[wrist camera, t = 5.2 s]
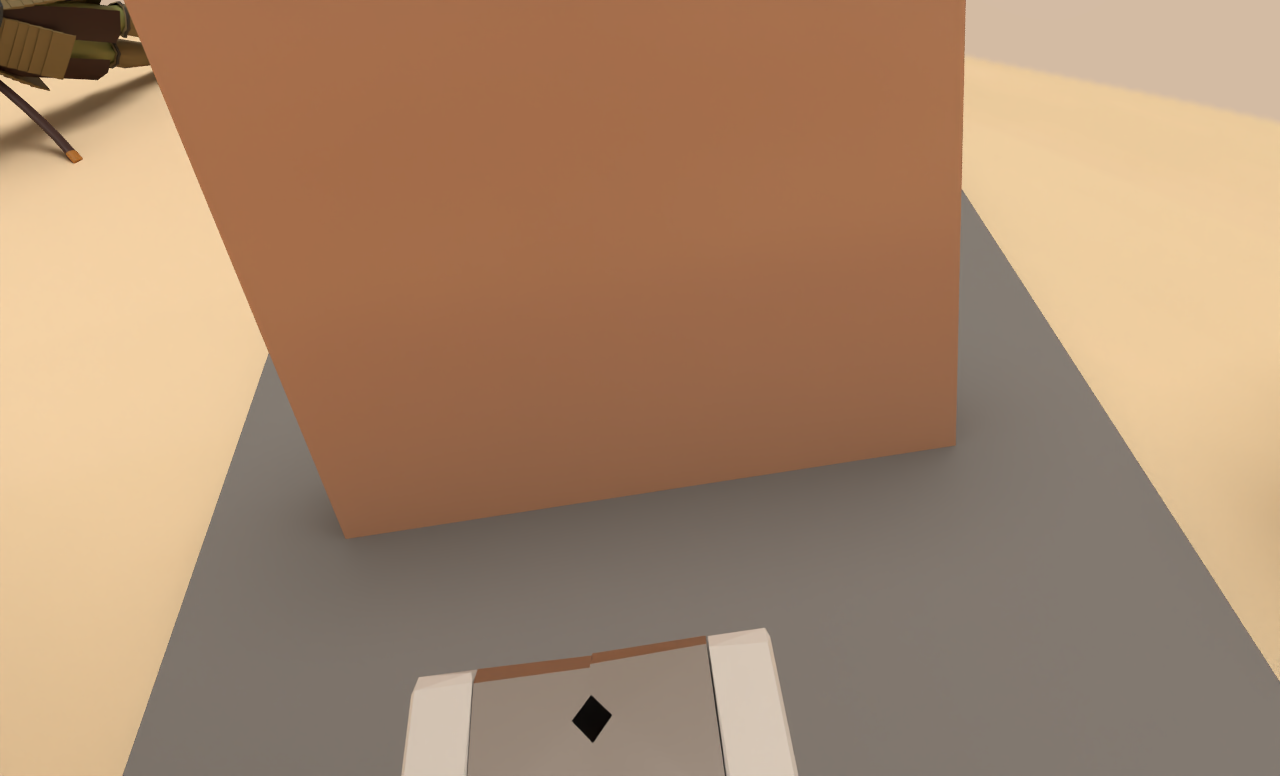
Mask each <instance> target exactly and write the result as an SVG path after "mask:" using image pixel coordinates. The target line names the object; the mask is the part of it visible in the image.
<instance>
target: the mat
mask: <svg viewBox="0 0 1280 776" xmlns="http://www.w3.org/2000/svg"><path fill="white" fill-rule="evenodd" d="M759 628H766V630H767V632H768V634H769V636H770V638H771V643H772V648H773V653H774V658H775V663H776V668H777V673H778V677H779V682H780V687H781V692H782V697H783V702H784V707H785V712H786V717H787V722H788V727H789V732H790V737H791V741H792V746H793V751H794V756H795V761H796V766H797V771H798V776H1280V681H1279V680H1278V678H1277V677H1276V675H1275V674H1274V672H1273V671H1272V669H1271V668H1270V666H1269V664H1268V663H1267V661H1266V660H1265V658H1264V657H1263V655H1262V654H1261V652H1260V650H1259V649H1258V647H1257V646H1256V644H1255V643H1254V641H1253V640H1252V638H1251V637H1250V635H1249V633H1248V632H1247V630H1246V629H1245V627H1244V626H1243V624H1242V623H1241V621H1240V619H1239V618H1238V616H1237V615H1236V613H1235V612H1234V610H1233V609H1232V607H1231V606H1230V604H1229V602H1228V601H1227V599H1226V598H1225V596H1224V595H1223V593H1222V592H1221V590H1220V589H1219V587H1218V585H1217V584H1216V582H1215V581H1214V579H1213V578H1212V576H1211V575H1210V573H1209V571H1208V570H1207V568H1206V567H1205V565H1204V564H1203V562H1202V561H1201V559H1200V558H1199V556H1198V554H1197V553H1196V551H1195V550H1194V548H1193V547H1192V545H1191V544H1190V542H1189V540H1188V539H1187V537H1186V536H1185V534H1184V533H1183V531H1182V530H1181V528H1180V527H1179V525H1178V523H1177V522H1176V520H1175V519H1174V517H1173V516H1172V514H1171V513H1170V511H1169V509H1168V508H1167V506H1166V505H1165V503H1164V502H1163V500H1162V499H1161V497H1160V496H1159V494H1158V492H1157V491H1156V489H1155V488H1154V486H1153V485H1152V483H1151V482H1150V480H1149V478H1148V477H1147V475H1146V474H1145V472H1144V471H1143V469H1142V468H1141V466H1140V465H1139V463H1138V461H1137V460H1136V458H1135V457H1134V455H1133V454H1132V452H1131V451H1130V449H1129V448H1128V446H1127V444H1126V443H1125V441H1124V440H1123V438H1122V437H1121V435H1120V434H1119V432H1118V430H1117V429H1116V427H1115V426H1114V424H1113V423H1112V421H1111V420H1110V418H1109V417H1108V415H1107V413H1106V412H1105V410H1104V409H1103V407H1102V406H1101V404H1100V403H1099V401H1098V399H1097V398H1096V396H1095V395H1094V393H1093V392H1092V390H1091V389H1090V387H1089V386H1088V384H1087V382H1086V381H1085V379H1084V378H1083V376H1082V375H1081V373H1080V372H1079V370H1078V368H1077V367H1076V365H1075V364H1074V362H1073V361H1072V359H1071V358H1070V356H1069V355H1068V353H1067V351H1066V350H1065V348H1064V347H1063V345H1062V344H1061V342H1060V341H1059V339H1058V337H1057V336H1056V334H1055V333H1054V331H1053V330H1052V328H1051V327H1050V325H1049V324H1048V322H1047V320H1046V319H1045V317H1044V316H1043V314H1042V313H1041V311H1040V310H1039V308H1038V306H1037V305H1036V303H1035V302H1034V300H1033V299H1032V297H1031V296H1030V294H1029V293H1028V291H1027V289H1026V288H1025V286H1024V285H1023V283H1022V282H1021V280H1020V279H1019V277H1018V276H1017V274H1016V272H1015V271H1014V269H1013V268H1012V266H1011V265H1010V263H1009V262H1008V260H1007V258H1006V257H1005V255H1004V254H1003V252H1002V251H1001V249H1000V248H999V246H998V245H997V243H996V241H995V240H994V238H993V237H992V235H991V234H990V232H989V231H988V229H987V227H986V226H985V224H984V223H983V221H982V220H981V218H980V217H979V215H978V214H977V212H976V210H975V209H974V207H973V206H972V204H971V203H970V201H969V200H968V198H967V196H966V195H965V193H964V192H963V190H962V189H961V230H960V275H959V320H958V365H957V410H956V445H955V446H949V447H942V448H936V449H929V450H923V451H916V452H910V453H903V454H897V455H890V456H884V457H877V458H871V459H864V460H857V461H851V462H844V463H838V464H831V465H825V466H818V467H812V468H805V469H799V470H792V471H786V472H779V473H773V474H766V475H760V476H753V477H747V478H740V479H734V480H727V481H721V482H714V483H708V484H701V485H695V486H688V487H682V488H675V489H669V490H662V491H656V492H649V493H643V494H636V495H630V496H623V497H617V498H610V499H603V500H597V501H590V502H584V503H577V504H571V505H564V506H558V507H551V508H545V509H538V510H532V511H525V512H519V513H512V514H506V515H499V516H493V517H486V518H480V519H473V520H467V521H460V522H454V523H447V524H441V525H434V526H428V527H421V528H415V529H408V530H402V531H395V532H389V533H382V534H376V535H369V536H363V537H356V538H349V539H345V536H344V534H343V531H342V529H341V527H340V524H339V522H338V519H337V517H336V514H335V512H334V510H333V507H332V505H331V502H330V500H329V497H328V495H327V493H326V490H325V488H324V485H323V483H322V480H321V478H320V476H319V473H318V471H317V468H316V466H315V463H314V461H313V459H312V456H311V454H310V451H309V449H308V446H307V444H306V442H305V439H304V437H303V434H302V432H301V429H300V427H299V425H298V422H297V420H296V417H295V415H294V412H293V410H292V408H291V405H290V403H289V400H288V398H287V395H286V393H285V391H284V388H283V386H282V383H281V381H280V378H279V376H278V374H277V371H276V369H275V366H274V364H273V361H272V359H271V357H270V354H268V357H267V360H266V363H265V366H264V369H263V371H262V374H261V377H260V380H259V383H258V386H257V389H256V392H255V395H254V397H253V400H252V403H251V406H250V409H249V412H248V415H247V418H246V421H245V423H244V426H243V429H242V432H241V435H240V438H239V441H238V444H237V447H236V449H235V452H234V455H233V458H232V461H231V464H230V467H229V470H228V473H227V475H226V478H225V481H224V484H223V487H222V490H221V493H220V496H219V499H218V501H217V504H216V507H215V510H214V513H213V516H212V519H211V522H210V525H209V527H208V530H207V533H206V536H205V539H204V542H203V545H202V548H201V551H200V553H199V556H198V559H197V562H196V565H195V568H194V571H193V574H192V577H191V579H190V582H189V585H188V588H187V591H186V594H185V597H184V600H183V603H182V605H181V608H180V611H179V614H178V617H177V620H176V623H175V626H174V629H173V632H172V634H171V637H170V640H169V643H168V646H167V649H166V652H165V655H164V658H163V660H162V663H161V666H160V669H159V672H158V675H157V678H156V681H155V684H154V686H153V689H152V692H151V695H150V698H149V701H148V704H147V707H146V710H145V712H144V715H143V718H142V721H141V724H140V727H139V730H138V733H137V736H136V738H135V741H134V744H133V747H132V750H131V753H130V756H129V759H128V762H127V764H126V767H125V770H124V773H123V776H401V774H402V766H403V758H404V749H405V741H406V733H407V725H408V717H409V709H410V700H411V694H412V692H413V690H414V687H415V685H416V683H417V680H418V678H419V677H424V676H432V675H440V674H447V673H455V672H463V671H470V670H477V669H483V668H491V667H499V666H508V665H516V664H524V663H533V662H541V661H550V660H558V659H566V658H575V657H583V656H591V655H592V653H598V652H605V651H611V650H617V649H623V648H630V647H636V646H642V645H649V644H655V643H661V642H668V641H674V640H680V639H687V638H693V637H699V636H705V635H706V641H707V646H708V636H712V635H719V634H725V633H732V632H739V631H746V630H753V629H759ZM708 652H709V649H708ZM709 658H710V656H709ZM710 664H711V662H710ZM711 670H712V669H711ZM712 676H713V675H712Z"/></svg>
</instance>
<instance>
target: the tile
mask: <svg viewBox="0 0 1280 776" xmlns="http://www.w3.org/2000/svg"><path fill="white" fill-rule="evenodd" d="M124 2H125V5H126V7H127V9H128V12H129V14H130V17H131V19H132V22H133V24H134V26H135V29H136V31H137V34H138V36H139V39H140V41H141V43H142V46H143V48H144V51H145V53H146V56H147V58H148V60H149V63H150V65H151V68H152V70H153V73H154V75H155V77H156V80H157V82H158V85H159V87H160V89H161V92H162V94H163V97H164V99H165V102H166V104H167V106H168V109H169V111H170V114H171V116H172V119H173V121H174V123H175V126H176V128H177V131H178V133H179V136H180V138H181V140H182V143H183V145H184V148H185V150H186V153H187V155H188V157H189V160H190V162H191V165H192V167H193V170H194V172H195V174H196V177H197V179H198V182H199V184H200V187H201V189H202V191H203V194H204V196H205V199H206V201H207V204H208V206H209V208H210V211H211V213H212V216H213V218H214V221H215V223H216V225H217V228H218V230H219V233H220V235H221V238H222V240H223V242H224V245H225V247H226V250H227V252H228V255H229V257H230V259H231V262H232V264H233V267H234V269H235V272H236V274H237V276H238V279H239V281H240V284H241V286H242V289H243V291H244V293H245V296H246V298H247V301H248V303H249V306H250V308H251V310H252V313H253V315H254V318H255V320H256V323H257V325H258V327H259V330H260V332H261V335H262V337H263V340H264V342H265V344H266V347H267V349H268V352H269V354H270V357H271V359H272V361H273V364H274V366H275V369H276V371H277V374H278V376H279V378H280V381H281V383H282V386H283V388H284V391H285V393H286V395H287V398H288V400H289V403H290V405H291V408H292V410H293V412H294V415H295V417H296V420H297V422H298V425H299V427H300V429H301V432H302V434H303V437H304V439H305V442H306V444H307V446H308V449H309V451H310V454H311V456H312V459H313V461H314V463H315V466H316V468H317V471H318V473H319V476H320V478H321V480H322V483H323V485H324V488H325V490H326V493H327V495H328V497H329V500H330V502H331V505H332V507H333V510H334V512H335V514H336V517H337V519H338V522H339V524H340V527H341V529H342V531H343V534H344V536H345V539H349V538H356V537H363V536H369V535H376V534H382V533H389V532H395V531H402V530H408V529H415V528H421V527H428V526H434V525H441V524H447V523H454V522H460V521H467V520H473V519H480V518H486V517H493V516H499V515H506V514H512V513H519V512H525V511H532V510H538V509H545V508H551V507H558V506H564V505H571V504H577V503H584V502H590V501H597V500H603V499H610V498H617V497H623V496H630V495H636V494H643V493H649V492H656V491H662V490H669V489H675V488H682V487H688V486H695V485H701V484H708V483H714V482H721V481H727V480H734V479H740V478H747V477H753V476H760V475H766V474H773V473H779V472H786V471H792V470H799V469H805V468H812V467H818V466H825V465H831V464H838V463H844V462H851V461H857V460H864V459H871V458H877V457H884V456H890V455H897V454H903V453H910V452H916V451H923V450H929V449H936V448H942V447H949V446H955V445H956V410H957V365H958V320H959V275H960V230H961V185H962V140H963V96H964V50H965V47H964V46H965V6H966V0H124Z"/></svg>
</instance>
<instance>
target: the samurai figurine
mask: <svg viewBox="0 0 1280 776" xmlns="http://www.w3.org/2000/svg"><path fill="white" fill-rule="evenodd" d="M100 2H101V0H0V75H3V76H4V77H7V78H11V79H12V80H15V81H19V82H20V83H23V84H27V85H30V86H31V87H35V88H40V89H44V90H48V91H50V89H49V88H48V87H47V86H46V85H45V84H44V83H43V81H42V80H41V79H40V78H39V77H45V78H57V79H62V80H63V78H68V79H88V80H98V79H100V78H101V77H103V76H104V75H105V74H107V73H108V70H109V68H114V67H116V66H117V67H122V68H131V67H140V66H148V65H150V63H149V60H148V58H147V56H146V53H145V51H144V48H143V46H142V43H141V42H135V41H129V40H123V39H118V38H119V36H122V37H124V38H127V35H130V36H135V37H139V36H138V34H137V31H136V29H135V26H134V24H133V22H132V19H131V17H130V14H129V12H128V9H127V7H126V5H125V4H122V3H121V2H114V3H110V4H109V5H108V6H105V5H100ZM0 91H1V92H2V93H3V94H4V95H5V96H7V97H8V98H9V99H10V100H11V101H12V102H13V103H15V104H16V105H17V106H18V107H19V108H20V109H21V110H23V111H24V112H25V113H26V114H27V115H28V116H29V117H30V118H31V119H32V120H33V121H34V122H36V123H37V124H38V125H39V126H40V127H41V128H42V129H43V130H44V131H45V132H46V133H47V134H48V135H49V136H50V137H51V138H52V139H53V140H54V141H55V143H56V144H57V145H58V146H59V147H60V148H61V149H62V150H63V151H64V153H65V154H66V155H67V157H68V158H69V159H70V160H71V161H72V162H73V163H76V162H78V161H80V160H82V159H83V158H82V157H81V156H80V155H79V153H78V152H77V151H75V150H74V149H73V147H72V146H71V145H70V144H69V143H68V142H67V141H66V140H65V139H64V138H63V137H62V135H61V134H60V133H59V132H58V131H57V130H56V129H55V128H54V127H53V126H52V125H51V124H50V123H48V122H47V121H46V120H45V119H44V118H43V117H42V116H41V115H40V114H39V113H38V112H37V111H36V110H35V109H34V108H32V107H31V106H30V105H29V104H28V103H27V102H26V101H25V100H23V99H22V98H21V97H20V96H19V95H18V94H16V93H15V92H14V91H13V90H12V89H11V88H9V87H8V86H7V85H6V84H5V83H3V82H2V81H1V80H0Z"/></svg>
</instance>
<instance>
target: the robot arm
mask: <svg viewBox="0 0 1280 776" xmlns="http://www.w3.org/2000/svg"><path fill="white" fill-rule="evenodd" d="M708 649H709V652H708ZM709 656H710V658H709ZM710 662H711V664H710ZM711 669H712V670H711ZM712 675H713V676H712ZM401 776H798V771H797V766H796V761H795V756H794V751H793V746H792V741H791V737H790V732H789V727H788V722H787V717H786V712H785V707H784V702H783V697H782V692H781V687H780V682H779V677H778V673H777V668H776V663H775V658H774V653H773V648H772V643H771V638H770V636H769V634H768V632H767V630H766V628H759V629H753V630H746V631H739V632H732V633H725V634H719V635H712V636H708V646H707V641H706V635H705V636H699V637H693V638H687V639H680V640H674V641H668V642H661V643H655V644H649V645H642V646H636V647H630V648H623V649H617V650H611V651H605V652H598V653H592V655H591V656H583V657H575V658H566V659H558V660H550V661H541V662H533V663H524V664H516V665H508V666H499V667H491V668H483V669H477V670H470V671H463V672H455V673H447V674H440V675H432V676H424V677H419V678H418V680H417V683H416V685H415V687H414V690H413V692H412V694H411V700H410V709H409V717H408V725H407V733H406V741H405V749H404V758H403V766H402V774H401Z"/></svg>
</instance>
